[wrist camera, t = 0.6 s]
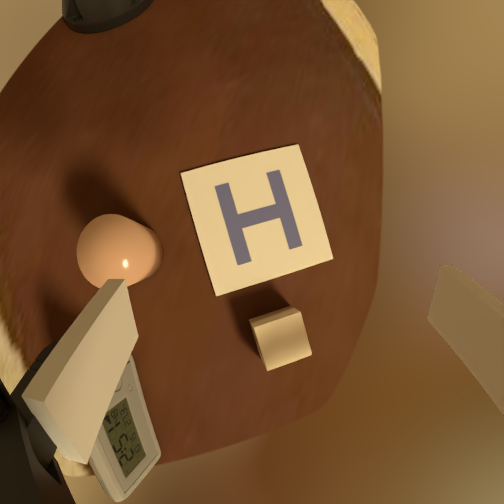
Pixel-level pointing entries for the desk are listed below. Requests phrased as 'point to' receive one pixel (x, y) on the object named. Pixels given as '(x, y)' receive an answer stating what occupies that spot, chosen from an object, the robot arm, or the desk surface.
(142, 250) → the terracotta canister
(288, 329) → the ash block
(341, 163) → the desk surface
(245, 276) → the letter card
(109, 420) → the digital clock
